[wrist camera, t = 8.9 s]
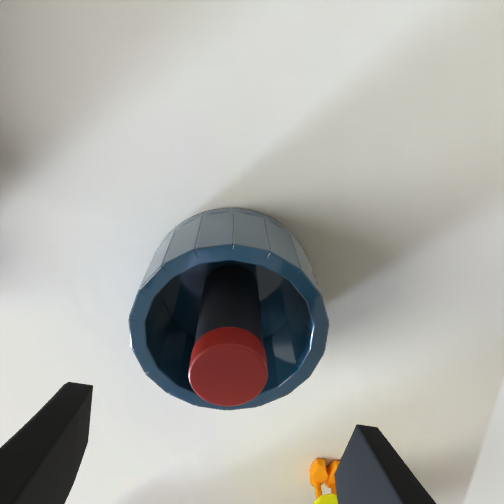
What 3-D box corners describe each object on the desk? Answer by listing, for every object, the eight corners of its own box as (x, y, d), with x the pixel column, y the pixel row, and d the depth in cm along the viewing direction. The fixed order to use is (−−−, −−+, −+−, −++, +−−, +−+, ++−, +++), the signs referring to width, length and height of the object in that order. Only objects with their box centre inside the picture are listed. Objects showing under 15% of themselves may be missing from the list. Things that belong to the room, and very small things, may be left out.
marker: (252, 317, 18) (258, 412, 13) (197, 307, 18) (182, 401, 13) (265, 269, 17) (276, 352, 12) (207, 258, 17) (195, 338, 12)
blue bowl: (287, 358, 20) (299, 421, 16) (141, 334, 19) (118, 395, 16) (331, 226, 17) (356, 268, 14) (161, 190, 16) (139, 225, 13)
